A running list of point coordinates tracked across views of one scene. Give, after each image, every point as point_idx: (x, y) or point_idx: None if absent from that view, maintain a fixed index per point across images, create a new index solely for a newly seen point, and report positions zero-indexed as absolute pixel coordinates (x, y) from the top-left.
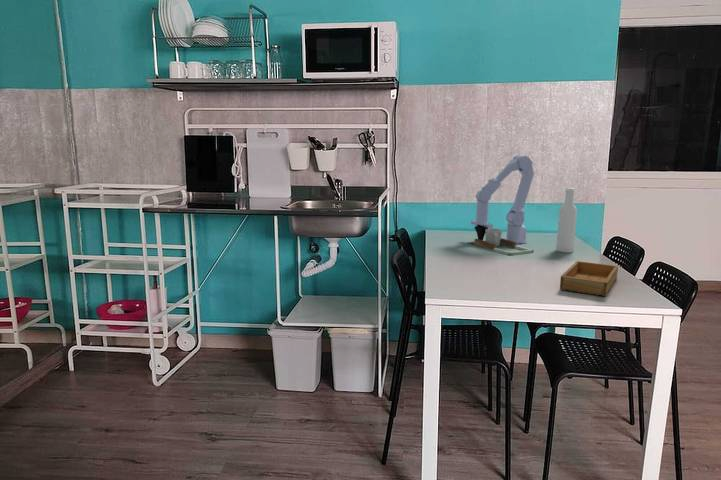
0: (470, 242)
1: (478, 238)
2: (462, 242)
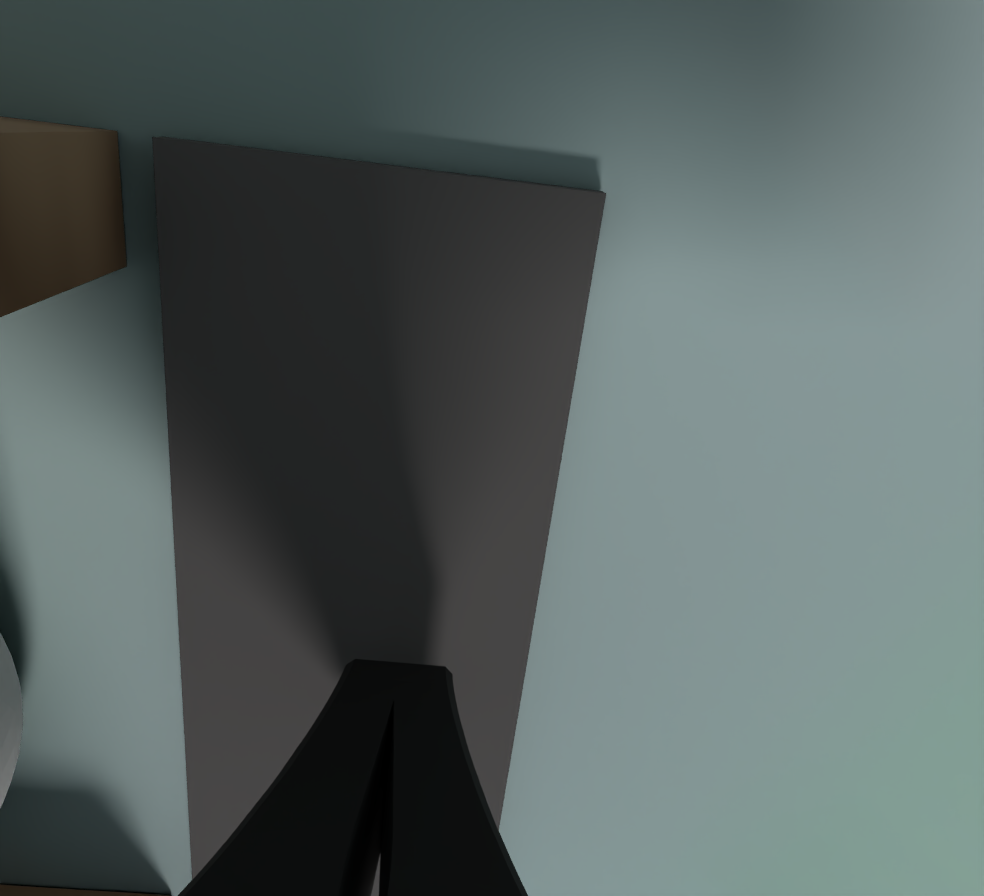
0: (509, 296)
1: (412, 697)
2: (806, 79)
